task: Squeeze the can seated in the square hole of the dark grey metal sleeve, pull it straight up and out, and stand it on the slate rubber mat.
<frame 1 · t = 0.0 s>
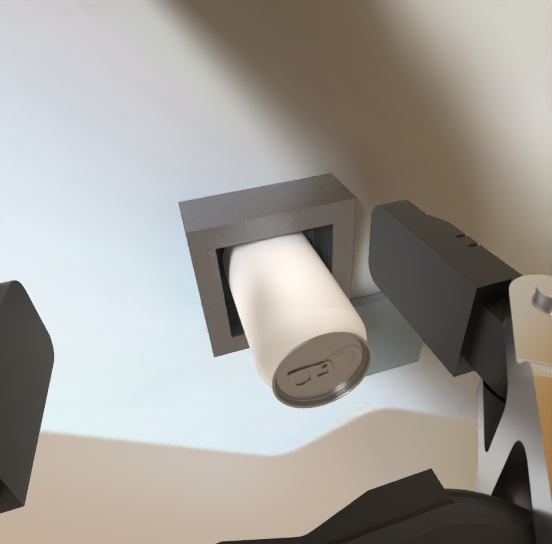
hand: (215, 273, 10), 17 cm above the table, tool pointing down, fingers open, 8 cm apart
can: (263, 250, 31), resting in sleeve
mat: (373, 332, 40), on the table
sleeve: (264, 252, 31), on the table
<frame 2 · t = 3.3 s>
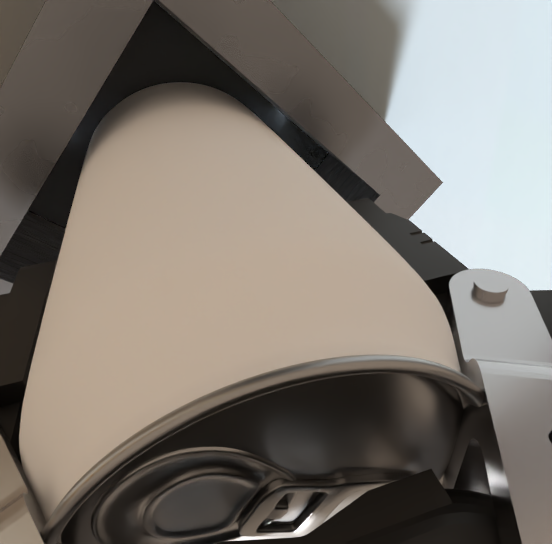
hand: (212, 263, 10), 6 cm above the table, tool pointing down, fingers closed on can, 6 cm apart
can: (185, 176, 15), resting in sleeve, touching gripper
sleeve: (186, 178, 15), on the table
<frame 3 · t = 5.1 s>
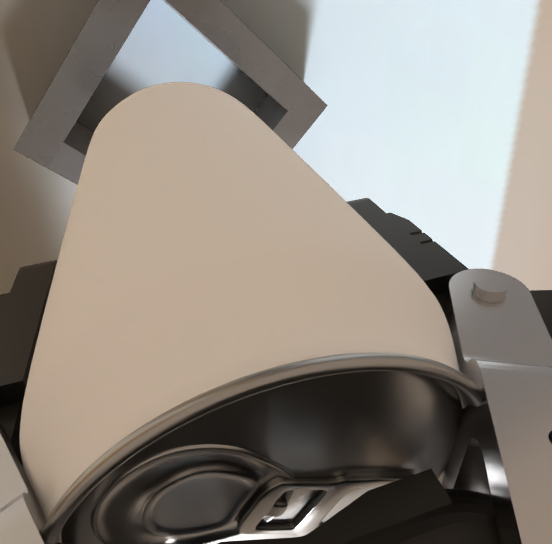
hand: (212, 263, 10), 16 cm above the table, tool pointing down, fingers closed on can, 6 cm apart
can: (185, 176, 15), point 10 cm above the table, touching gripper
sleeve: (175, 106, 23), on the table
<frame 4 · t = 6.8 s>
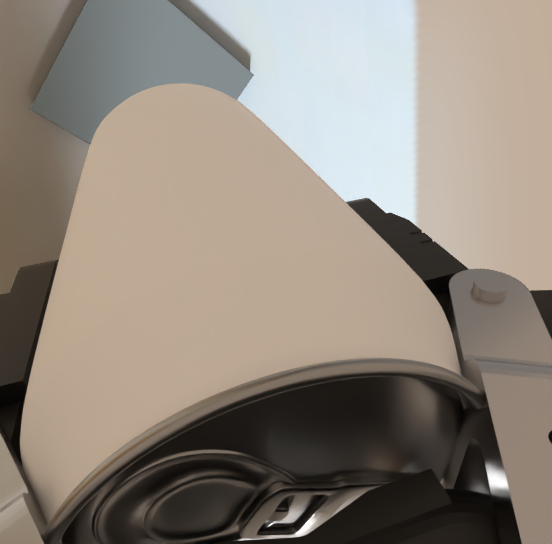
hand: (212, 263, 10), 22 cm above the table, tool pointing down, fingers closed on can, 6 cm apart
can: (186, 177, 15), point 16 cm above the table, touching gripper
mat: (146, 88, 27), on the table
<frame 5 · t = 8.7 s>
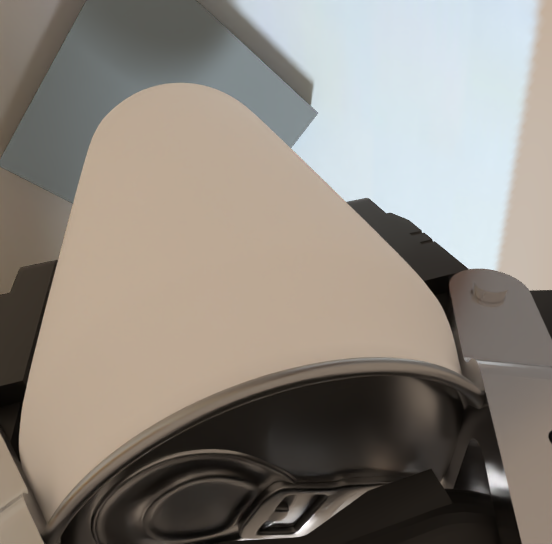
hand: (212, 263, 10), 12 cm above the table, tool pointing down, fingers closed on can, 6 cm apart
can: (185, 177, 15), point 6 cm above the table, touching gripper
mat: (167, 131, 19), on the table
when the fingers open (8 cm above the table, at t = 10.5 s): can stays where it is, resting on mat.
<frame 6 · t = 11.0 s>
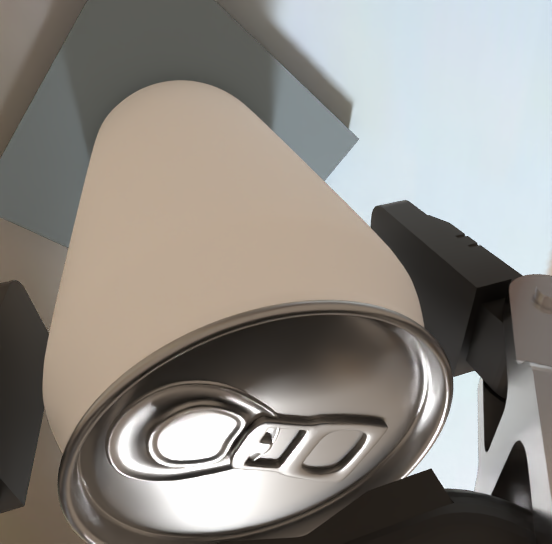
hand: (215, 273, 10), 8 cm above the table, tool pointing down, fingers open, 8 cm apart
can: (186, 170, 16), point 1 cm above the table, touching mat
mat: (180, 160, 16), on the table
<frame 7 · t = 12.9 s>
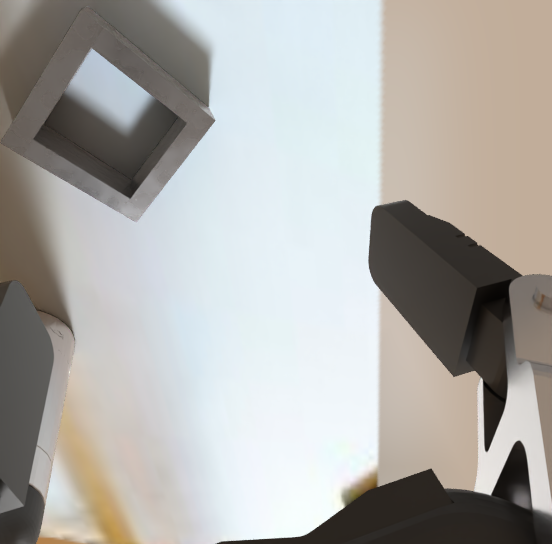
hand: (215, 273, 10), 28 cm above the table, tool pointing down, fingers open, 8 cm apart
sleeve: (115, 116, 33), on the table
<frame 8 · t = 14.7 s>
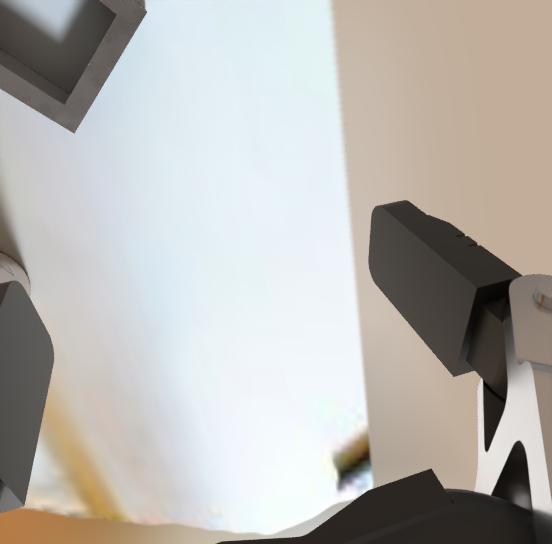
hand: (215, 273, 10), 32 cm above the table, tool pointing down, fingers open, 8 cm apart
sleeve: (44, 19, 31), on the table
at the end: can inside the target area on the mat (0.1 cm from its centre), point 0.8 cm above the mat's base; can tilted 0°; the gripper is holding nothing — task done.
